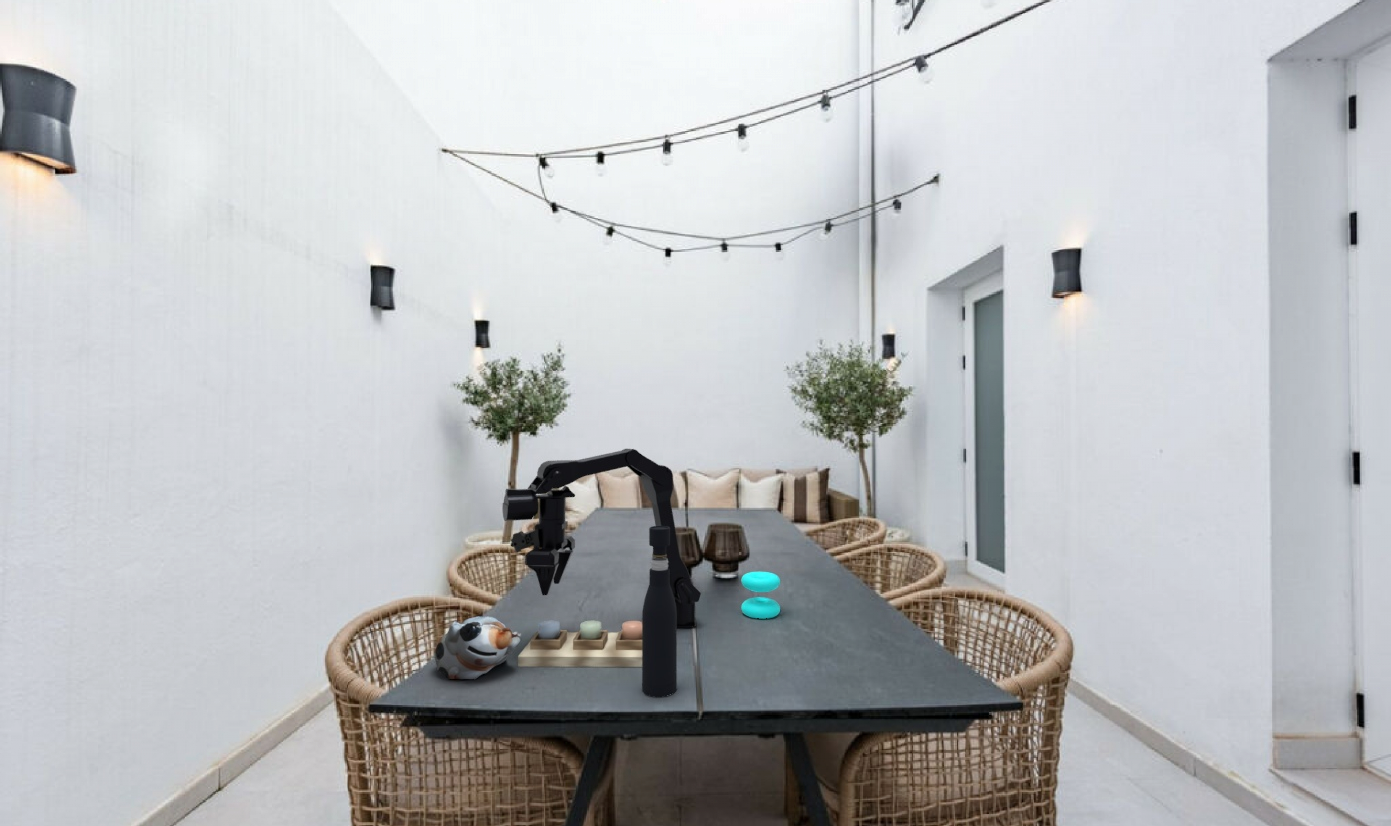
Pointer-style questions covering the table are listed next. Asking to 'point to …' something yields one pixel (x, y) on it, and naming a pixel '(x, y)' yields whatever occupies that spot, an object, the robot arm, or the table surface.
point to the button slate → (548, 629)
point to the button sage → (590, 629)
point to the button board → (582, 651)
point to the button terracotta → (632, 630)
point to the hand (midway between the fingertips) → (551, 589)
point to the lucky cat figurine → (474, 647)
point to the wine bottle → (659, 622)
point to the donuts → (760, 605)
